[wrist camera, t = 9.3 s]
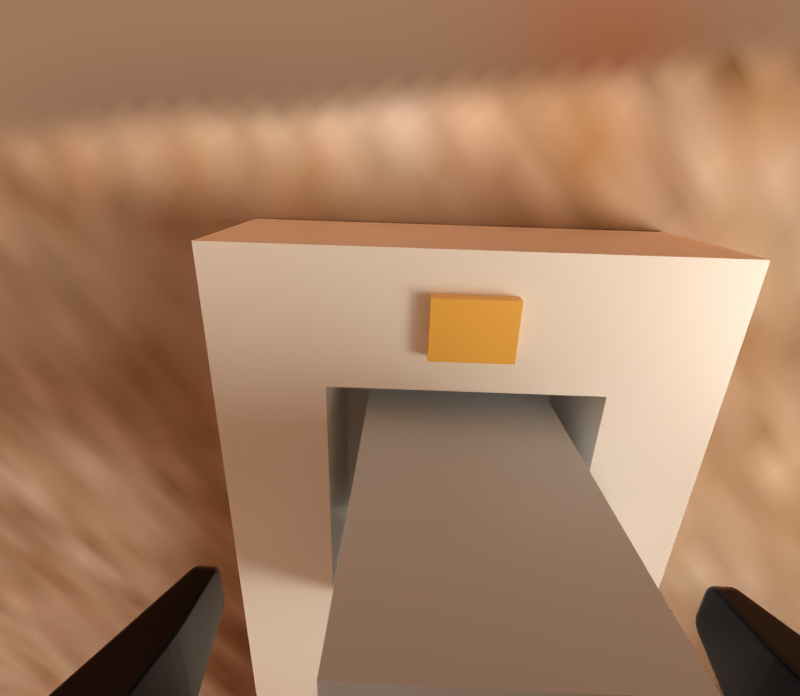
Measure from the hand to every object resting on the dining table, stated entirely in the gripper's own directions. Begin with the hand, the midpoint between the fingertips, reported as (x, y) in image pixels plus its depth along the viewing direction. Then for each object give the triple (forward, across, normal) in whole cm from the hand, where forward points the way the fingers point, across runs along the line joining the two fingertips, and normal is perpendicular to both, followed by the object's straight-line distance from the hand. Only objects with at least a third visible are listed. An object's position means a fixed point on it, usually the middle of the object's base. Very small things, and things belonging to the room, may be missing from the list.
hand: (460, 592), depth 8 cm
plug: (+5, 0, 0) cm, 5 cm away
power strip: (+5, 0, +6) cm, 8 cm away
